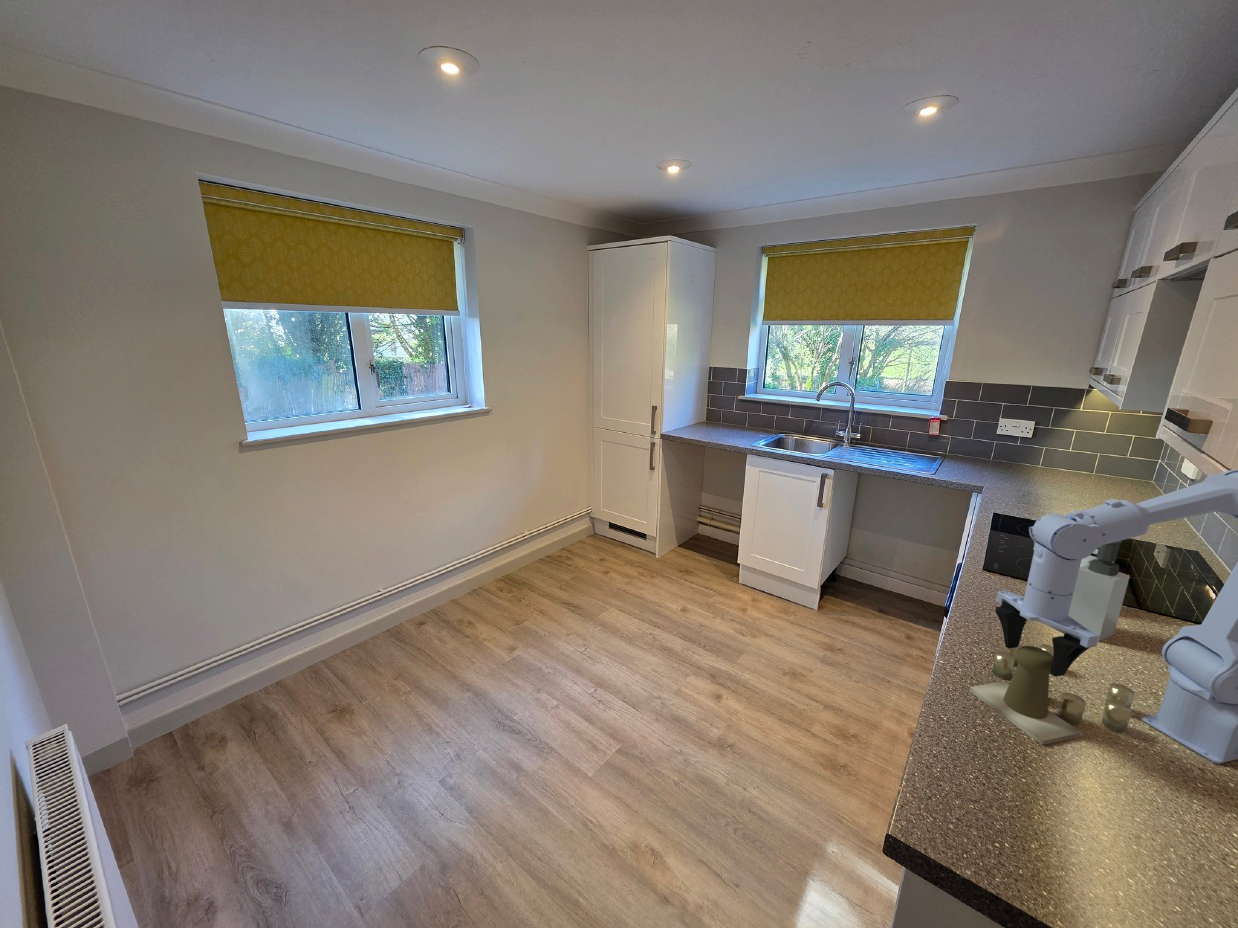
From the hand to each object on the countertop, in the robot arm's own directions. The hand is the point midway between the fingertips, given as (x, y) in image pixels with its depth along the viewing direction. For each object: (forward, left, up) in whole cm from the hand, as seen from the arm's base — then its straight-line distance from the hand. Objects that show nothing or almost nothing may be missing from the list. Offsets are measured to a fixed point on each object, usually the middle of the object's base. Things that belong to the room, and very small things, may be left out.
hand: (1033, 660), depth 83 cm
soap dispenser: (+18, -40, -11) cm, 45 cm away
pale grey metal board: (0, 0, -10) cm, 10 cm away
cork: (0, -1, -10) cm, 10 cm away
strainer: (+26, -52, -11) cm, 59 cm away
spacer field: (+3, -12, -10) cm, 16 cm away
